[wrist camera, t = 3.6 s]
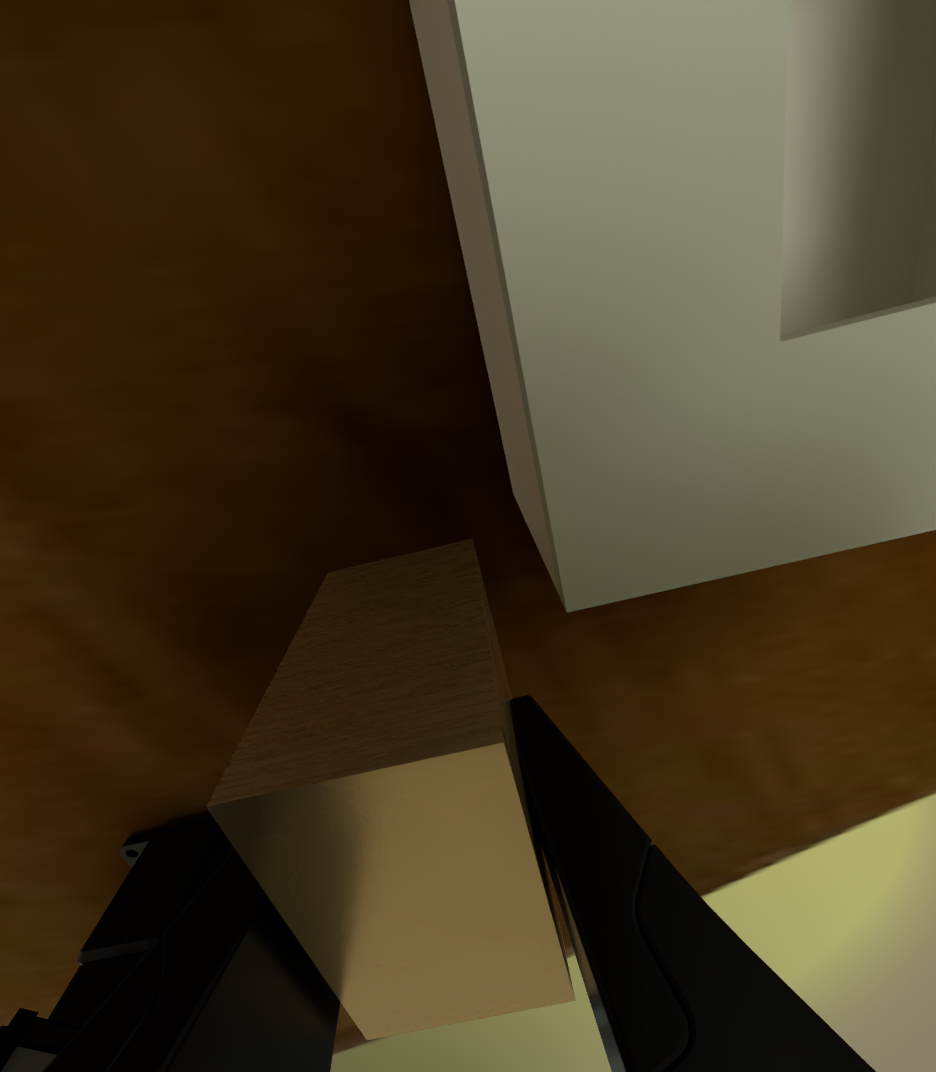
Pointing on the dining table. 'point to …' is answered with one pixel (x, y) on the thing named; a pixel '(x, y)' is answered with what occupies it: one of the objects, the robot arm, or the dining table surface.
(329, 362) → the dining table surface
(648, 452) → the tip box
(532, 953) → the tan wooden block
